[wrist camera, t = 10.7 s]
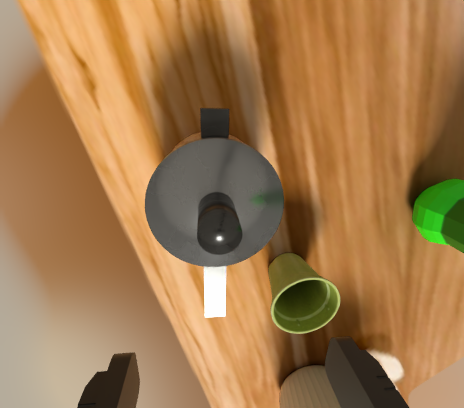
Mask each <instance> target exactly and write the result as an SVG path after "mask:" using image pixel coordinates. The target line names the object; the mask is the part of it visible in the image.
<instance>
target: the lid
mask: <svg viewBox="0 0 464 408" xmlns="http://www.w3.org/2000/svg"><path fill="white" fill-rule="evenodd" d="M283 208H284V196H283V189H282V185H281V182H280V179H279V177H278V175H277V173H276V171H275V170H274V168H273V167H272V165H271V164H270V163H269V162H268V160H267V159H266V158H264V157H263V156H262V155H261V154H260V153H259V152H258V151H256V150H255V149H254V148H252V147H251V146H249V145H247V144H245V143H243V142H240V141H237V140H234V139H230V138H225V137H205V138H200V139H196V140H193V141H190V142H187V143H185V144H183V145H181V146H179V147H178V148H176V149H175V150H173V151H172V152H171V153H170V154H168V155H167V156H166V157H165V158H164V159H163V161H162V162H161V163H160V164H159V165H158V167H157V168H156V170H155V172H154V173H153V175H152V177H151V179H150V181H149V184H148V187H147V191H146V197H145V212H146V217H147V221H148V224H149V227H150V229H151V231H152V233H153V235H154V236H155V238H156V239H157V241H158V242H159V243H160V244H161V245H162V246H163V247H164V248H165V249H166V250H167V251H168V252H169V253H171V254H172V255H174V256H175V257H177V258H179V259H181V260H183V261H185V262H188V263H191V264H194V265H198V266H205V267H221V266H228V265H232V264H235V263H238V262H241V261H243V260H246V259H248V258H249V257H251V256H253V255H254V254H256V253H257V252H258V251H260V250H261V249H262V248H263V247H264V246H265V245H266V244H267V243H268V242H269V241H270V239H271V238H272V237H273V235H274V234H275V232H276V230H277V228H278V226H279V224H280V221H281V218H282V214H283Z"/></svg>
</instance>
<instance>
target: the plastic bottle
mask: <svg viewBox="0 0 464 408" xmlns="http://www.w3.org/2000/svg"><path fill="white" fill-rule="evenodd" d="M412 220H413V222H414V224H415V225H416V227H417V228H418V230H419V232H420V233H421V235H422V236H423V237H424V238H425V239H427V240H428V241H430V242H434V243H439V244H445V245H450V246H452V247H454V248H456V249H457V250H459V251H461V252H463V253H464V180H460V179H448V180H445V181H443V182H441V183H438V184H436V185H434V186H431V187H429V188H427V189H426V190H425V191H423V192H422V193H421V194H420V195H419V196H418V198H417V199H416V200H415V204H414V209H413V215H412Z"/></svg>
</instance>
